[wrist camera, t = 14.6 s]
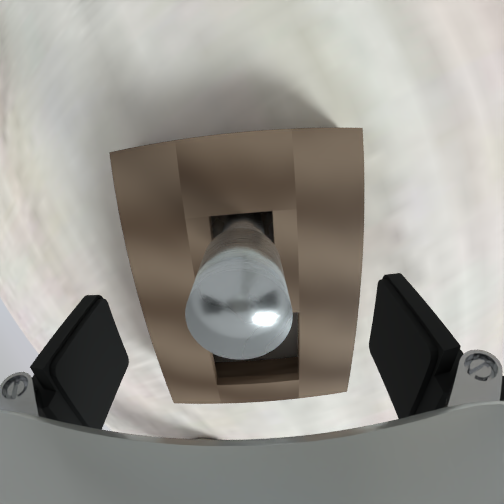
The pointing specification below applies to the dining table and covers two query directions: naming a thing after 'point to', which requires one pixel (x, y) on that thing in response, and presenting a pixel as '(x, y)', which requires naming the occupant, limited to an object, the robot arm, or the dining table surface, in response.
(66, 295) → the dining table surface
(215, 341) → the keyhole peg
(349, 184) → the keyhole board
